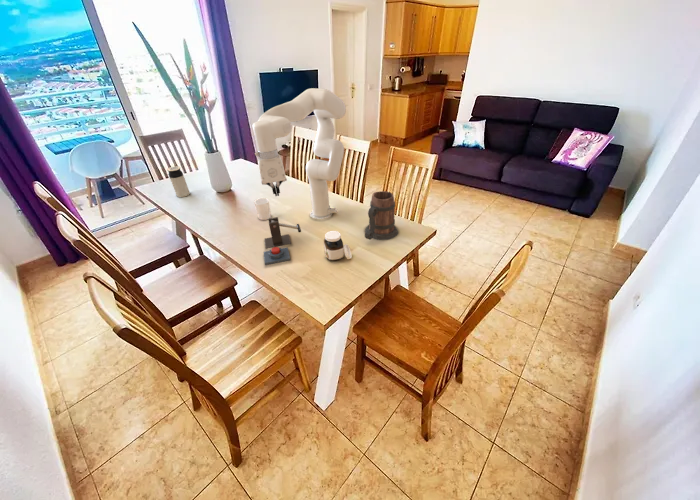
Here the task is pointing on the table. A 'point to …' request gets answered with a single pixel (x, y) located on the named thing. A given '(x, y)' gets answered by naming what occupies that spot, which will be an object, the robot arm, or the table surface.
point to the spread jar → (335, 246)
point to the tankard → (381, 217)
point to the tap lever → (289, 226)
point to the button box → (276, 256)
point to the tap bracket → (276, 235)
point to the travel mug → (178, 181)
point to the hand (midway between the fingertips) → (277, 194)
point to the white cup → (262, 208)
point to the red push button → (275, 250)
